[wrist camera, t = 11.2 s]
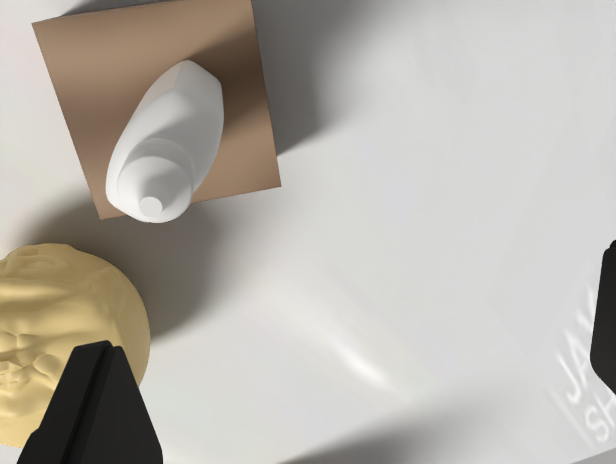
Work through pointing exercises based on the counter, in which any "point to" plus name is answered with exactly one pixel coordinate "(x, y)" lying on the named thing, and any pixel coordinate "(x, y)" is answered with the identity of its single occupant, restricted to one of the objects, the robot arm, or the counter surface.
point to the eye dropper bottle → (167, 145)
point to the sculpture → (59, 326)
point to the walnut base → (147, 69)
